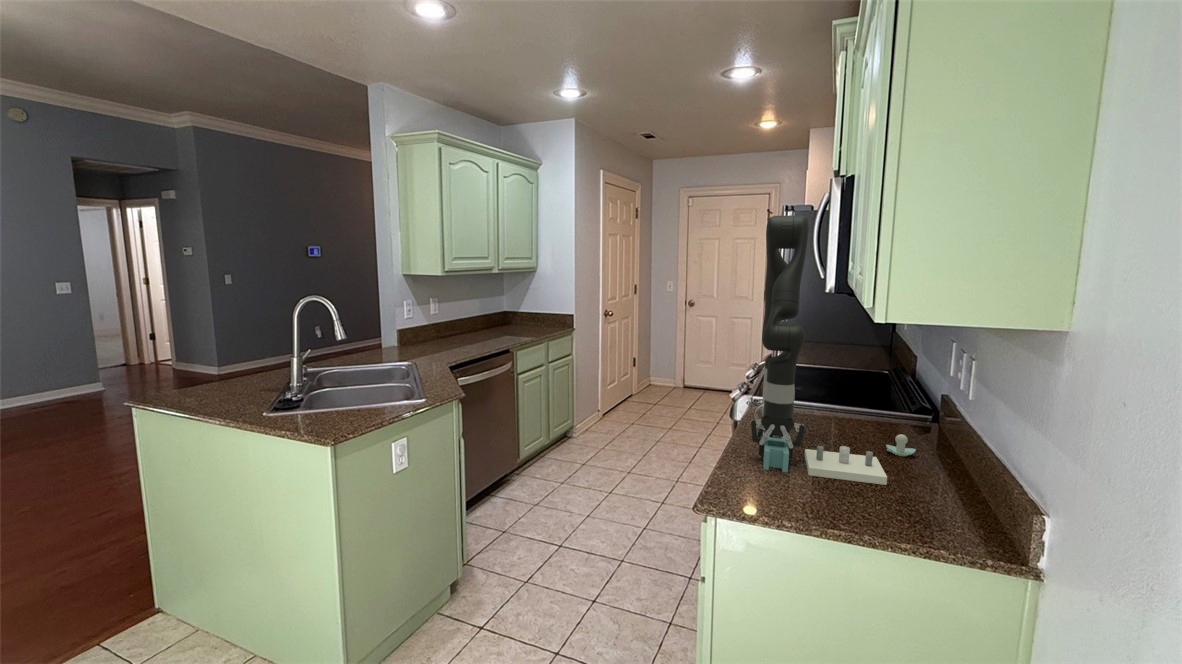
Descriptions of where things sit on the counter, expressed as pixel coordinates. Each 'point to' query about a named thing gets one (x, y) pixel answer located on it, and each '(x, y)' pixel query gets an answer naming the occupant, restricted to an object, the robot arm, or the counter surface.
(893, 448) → the pacifier
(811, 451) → the base plate
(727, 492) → the counter surface
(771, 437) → the watch
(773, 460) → the flange bar
